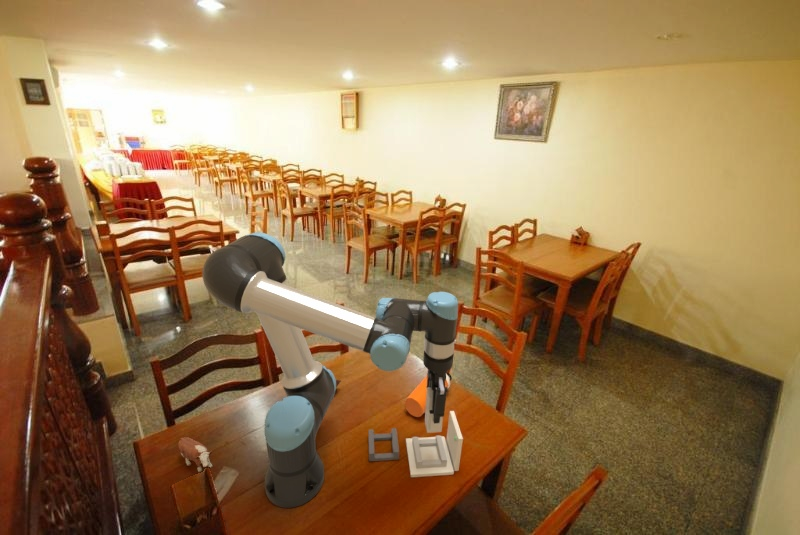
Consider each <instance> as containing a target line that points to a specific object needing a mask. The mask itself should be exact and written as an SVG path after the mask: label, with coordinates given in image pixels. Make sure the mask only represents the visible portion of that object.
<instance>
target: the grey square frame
mask: <svg viewBox="0 0 800 535" xmlns="http://www.w3.org/2000/svg"><path fill="white" fill-rule="evenodd" d="M397 430H398V429H397V428H396V427H394V428H391V431H390V433H374V432H375V431H374V429H373V428H372V429H368V461H369V462H379V461H383V462H384V461H393V460H395V461H396V460H398V461H399V460H400V447H399V440H398V431H397ZM390 440H391V447H392V452H389V453H388V452H387V453H386V452H385V453H375V442H376V441H390Z"/></svg>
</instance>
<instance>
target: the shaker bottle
mask: <svg viewBox="0 0 800 535" xmlns="http://www.w3.org/2000/svg"><path fill="white" fill-rule="evenodd" d="M445 373H446V380H445V387H447V389H448V390H449V388H450V386H451V381H452V380H453V376H452V375H451V374H450V373H449V372H448V371H447V372H445ZM427 374H428V372H427V373H426V376H424V378H423V379H422V380H421V381H420V382H419V383H418V384H417V386H416V387H415V388H414V390H413V391H411V392H410V394H408V396H407V397H406V398H405V401H404V407H405V409H406V411H407V412H408V413H409V414H410V415H411V416H413V417H415V418H420V417H422V416H423V415H424V414H425V409H426V394H427V388H426V387H427Z"/></svg>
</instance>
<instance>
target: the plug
mask: <svg viewBox="0 0 800 535" xmlns="http://www.w3.org/2000/svg"><path fill="white" fill-rule="evenodd" d="M432 400H433V390H432V388H431V387H428V388H427V394H426V409H425V412H424V424H425V430H426V433H427V434H429V433H430V434H432V433H441V432H442V431H443V419H444V417H441V424H440V430H431V431H430V417H431V414H430V412H429V410H432Z"/></svg>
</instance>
